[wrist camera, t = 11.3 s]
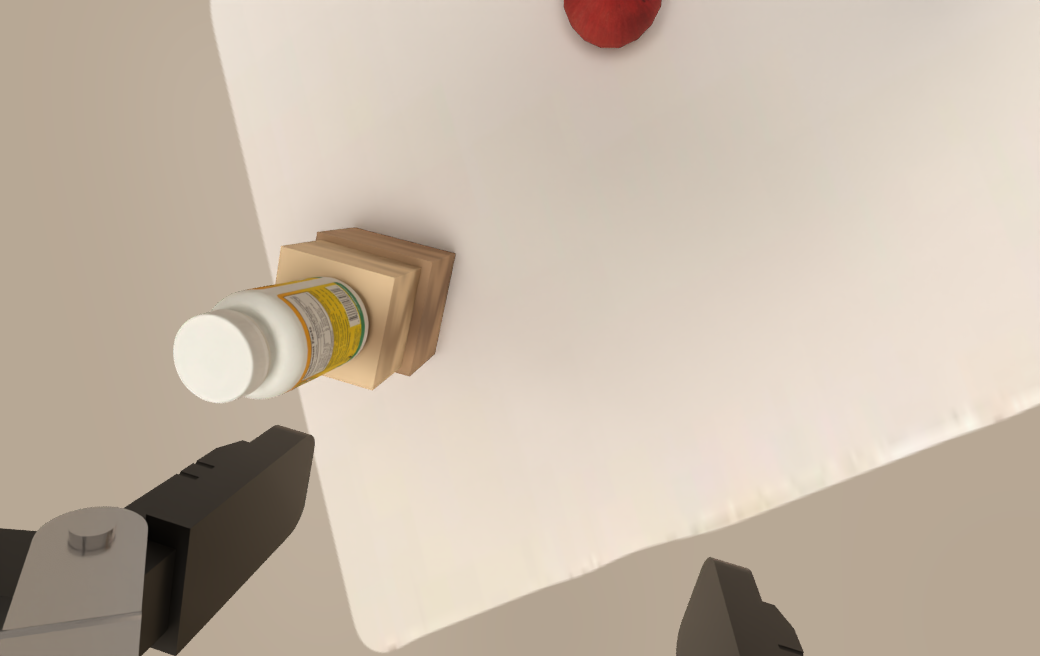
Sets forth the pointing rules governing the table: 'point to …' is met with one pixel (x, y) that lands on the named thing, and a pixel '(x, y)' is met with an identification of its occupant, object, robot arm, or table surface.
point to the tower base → (428, 291)
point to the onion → (611, 20)
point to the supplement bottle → (270, 339)
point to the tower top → (379, 288)
